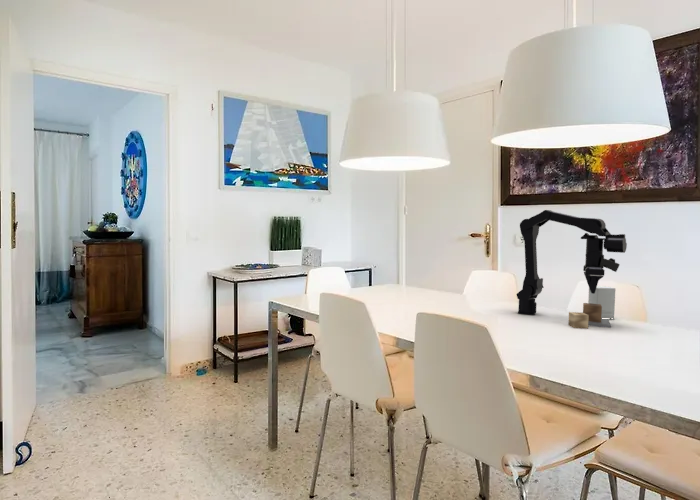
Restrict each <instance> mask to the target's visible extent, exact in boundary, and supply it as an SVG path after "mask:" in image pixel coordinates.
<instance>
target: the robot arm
mask: <svg viewBox="0 0 700 500" xmlns="http://www.w3.org/2000/svg"><path fill="white" fill-rule="evenodd" d="M549 221H551V222H556V223H561V224H565V225H568V226H573V227H576V228H578V229H580V230H582V231H585V232H584V234H583V235H582V236H581V237H580V239H581V240H586V243H585V260H584V261H585V264H584V265H583V269H582V270H583V273H584V274H583V275H584V277H585V280H586V283H587V286H588V290H589V289H590V291H591V293H593V294H594V293H595V291H596V287H597V286H598V285H599V281H600V280H601V279H602V278H604V276H605V271H606V270H605V269H604V268H606V269H609V270H611V271H612V272H615V273H617V271H618V269H619V267H620V263H619V262H616V259H614V258H611V257H610V258H609V259H607V258H605V255H604V254H603V253H604V250H605V251H606V252H608V253H620V254H621V253H622V254H624V253H625V252H627V248H628V246H627V245H628V243H627V238H626V234H625V233H621V234H611V232H610V231H609V230H608V229H607V227H606V226H607V225H606V222H605V220H603V219H601V218H595V217H594V218H593V217H592V218H591V217H579V216H574V215H570V214H565V213H561V212H557V211H553V210H550V209H544V210H543V211H541V212H539V213H537V214H536V215H533V216H531V217H529V218H525V219H524V218H523V219H522V220H521V222H520V223H519V229H520V234H521V236H522V239H523V241H524V259H525V260H524V261H525V263H524V265H525V276H524V279H523V282H522V289H520V291H518V292H517V293H516V298H517V299H518V311H517V314H521V315H535V314H536V313H537V305H538V304H537V302H536V299H537V298H538V296H539V295H540V294H541V293H542V291H543V289H544V284H543V283H544V278H543V277H541V278H540V277H539V275H538V258H537V257H538V254H537V239H538V236H539V232H540V228H541V227H542V226H544V225H545V224H546V223H549ZM604 237H605V238H604Z"/></svg>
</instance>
